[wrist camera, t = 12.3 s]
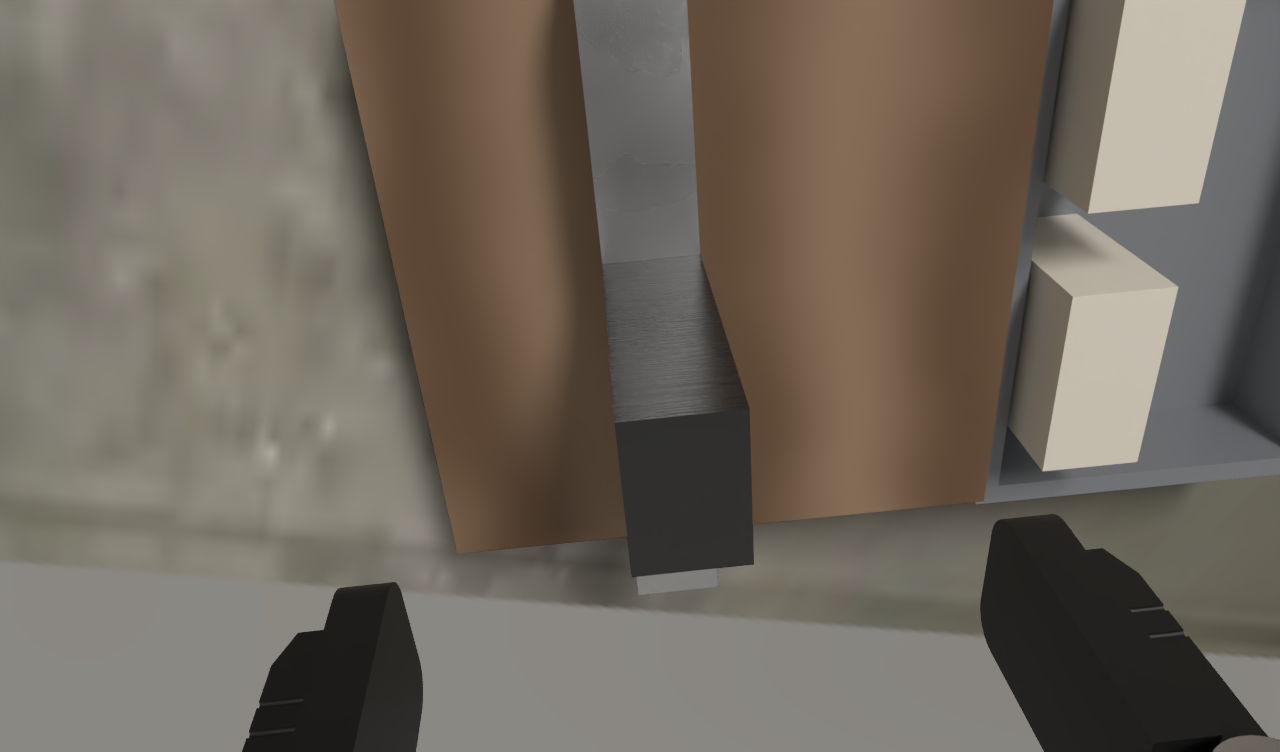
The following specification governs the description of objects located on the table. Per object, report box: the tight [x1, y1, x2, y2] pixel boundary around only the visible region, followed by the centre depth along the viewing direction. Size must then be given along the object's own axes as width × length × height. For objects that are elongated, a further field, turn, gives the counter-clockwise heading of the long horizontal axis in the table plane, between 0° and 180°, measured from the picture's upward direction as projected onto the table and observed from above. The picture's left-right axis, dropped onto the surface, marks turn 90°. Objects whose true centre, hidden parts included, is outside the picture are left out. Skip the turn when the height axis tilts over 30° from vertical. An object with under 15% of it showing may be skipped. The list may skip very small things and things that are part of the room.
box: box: [974, 0, 1280, 505], centre depth 24 cm, size 10×17×4 cm, turn 4°
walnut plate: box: [334, 0, 1054, 554], centre depth 24 cm, size 15×16×4 cm
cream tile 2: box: [1007, 214, 1178, 471], centre depth 25 cm, size 5×5×2 cm
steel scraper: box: [573, 0, 754, 595], centre depth 18 cm, size 2×15×9 cm, turn 5°
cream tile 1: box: [1043, 0, 1246, 214], centre depth 22 cm, size 5×5×2 cm
